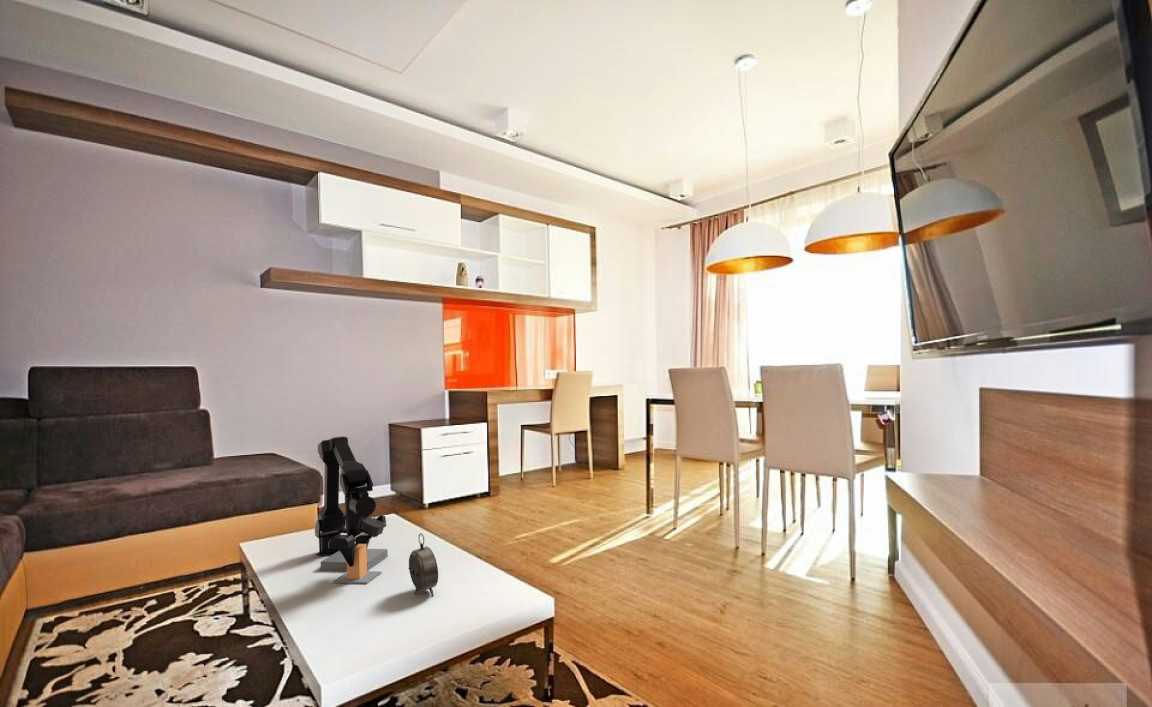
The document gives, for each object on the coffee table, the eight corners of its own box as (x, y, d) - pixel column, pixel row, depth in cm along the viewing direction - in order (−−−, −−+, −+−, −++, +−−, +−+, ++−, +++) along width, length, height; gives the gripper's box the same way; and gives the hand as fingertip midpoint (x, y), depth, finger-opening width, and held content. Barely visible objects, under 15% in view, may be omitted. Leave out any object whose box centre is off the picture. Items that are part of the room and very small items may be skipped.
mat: (332, 583, 153) (332, 581, 153) (348, 572, 161) (348, 570, 161) (366, 583, 151) (366, 582, 151) (381, 573, 159) (381, 571, 159)
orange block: (347, 578, 155) (346, 548, 155) (355, 573, 159) (354, 543, 159) (359, 579, 154) (358, 548, 154) (367, 573, 158) (366, 543, 158)
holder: (320, 569, 164) (320, 561, 164) (343, 555, 176) (343, 548, 176) (367, 570, 162) (367, 562, 162) (387, 556, 173) (387, 549, 174)
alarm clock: (440, 596, 141) (438, 535, 142) (420, 602, 138) (418, 540, 138) (424, 583, 150) (422, 526, 150) (406, 589, 146) (404, 531, 147)
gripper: (362, 519, 146) (364, 575, 146) (395, 502, 165) (397, 552, 164) (326, 519, 148) (327, 574, 148) (363, 502, 166) (364, 551, 166)
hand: (356, 562), depth 156 cm, fingers open, 5 cm apart
